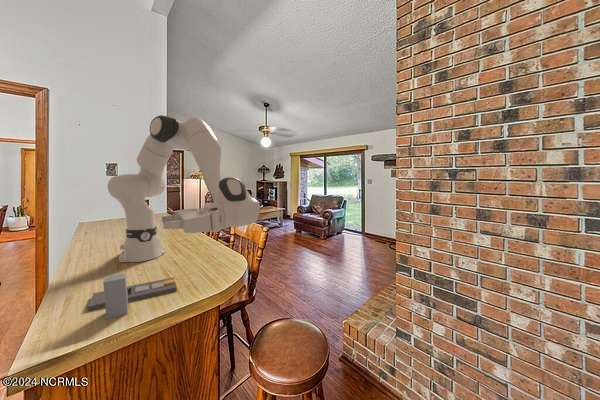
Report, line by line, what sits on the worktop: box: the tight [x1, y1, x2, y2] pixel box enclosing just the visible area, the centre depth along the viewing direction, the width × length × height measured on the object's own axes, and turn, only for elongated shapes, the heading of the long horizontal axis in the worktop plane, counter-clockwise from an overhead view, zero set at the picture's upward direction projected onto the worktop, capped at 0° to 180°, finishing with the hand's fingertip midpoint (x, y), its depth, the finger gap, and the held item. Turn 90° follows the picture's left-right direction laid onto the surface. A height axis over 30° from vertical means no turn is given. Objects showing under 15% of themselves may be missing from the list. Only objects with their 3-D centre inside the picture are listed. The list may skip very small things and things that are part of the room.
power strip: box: [87, 277, 178, 312], centre depth 77 cm, size 9×22×3 cm, turn 123°
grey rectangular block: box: [102, 272, 129, 320], centre depth 66 cm, size 4×4×11 cm
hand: (162, 222), depth 70 cm, fingers open, 8 cm apart
